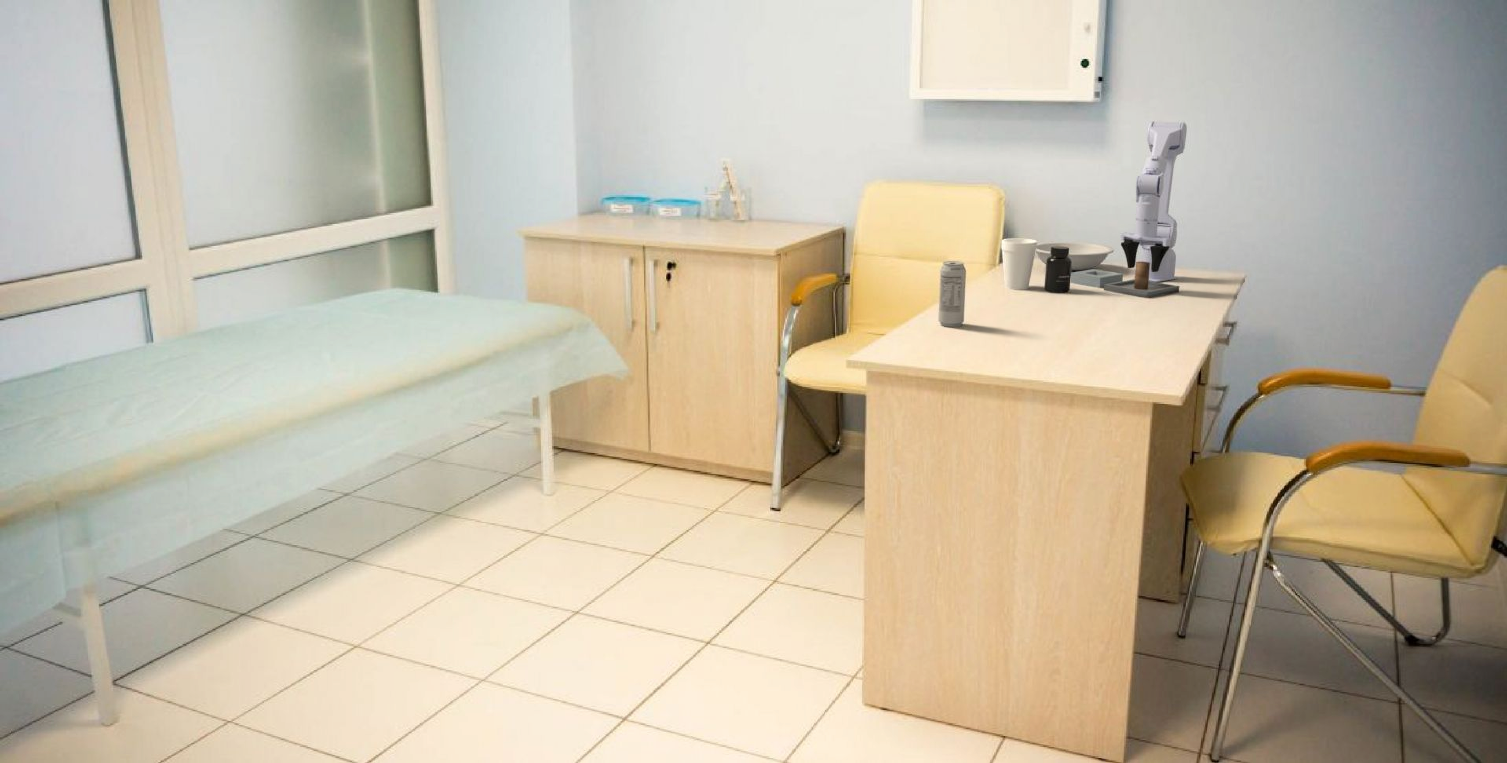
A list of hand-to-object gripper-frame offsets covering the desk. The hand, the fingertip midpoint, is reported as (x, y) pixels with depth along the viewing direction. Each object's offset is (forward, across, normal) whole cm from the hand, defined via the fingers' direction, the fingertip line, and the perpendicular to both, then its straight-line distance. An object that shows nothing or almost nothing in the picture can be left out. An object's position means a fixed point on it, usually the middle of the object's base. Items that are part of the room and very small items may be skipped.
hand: (1142, 269), depth 337 cm
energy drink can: (+6, -1, -72) cm, 72 cm away
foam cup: (+6, -24, -23) cm, 34 cm away
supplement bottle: (+6, -14, -18) cm, 24 cm away
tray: (+6, 0, 0) cm, 6 cm away
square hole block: (+6, -15, 0) cm, 16 cm away
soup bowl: (+6, -34, +12) cm, 37 cm away
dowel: (+5, 0, 0) cm, 5 cm away
